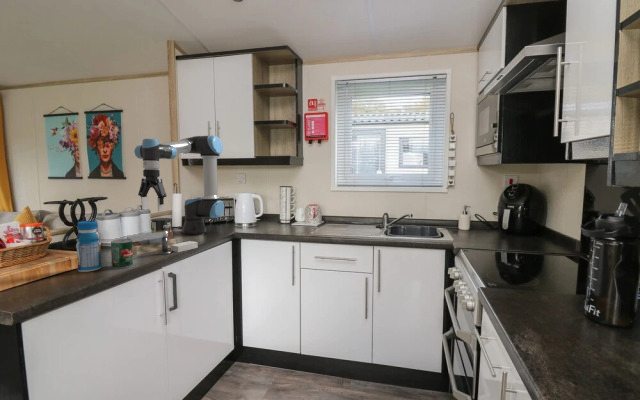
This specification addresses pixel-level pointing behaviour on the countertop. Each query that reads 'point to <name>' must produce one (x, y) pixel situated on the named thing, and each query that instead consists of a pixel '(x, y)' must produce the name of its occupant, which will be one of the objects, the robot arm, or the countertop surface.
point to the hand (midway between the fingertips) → (152, 210)
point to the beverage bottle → (88, 246)
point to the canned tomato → (121, 253)
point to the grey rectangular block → (152, 241)
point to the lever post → (164, 247)
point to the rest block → (184, 246)
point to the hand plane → (145, 248)
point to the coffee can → (161, 225)
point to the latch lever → (148, 236)
